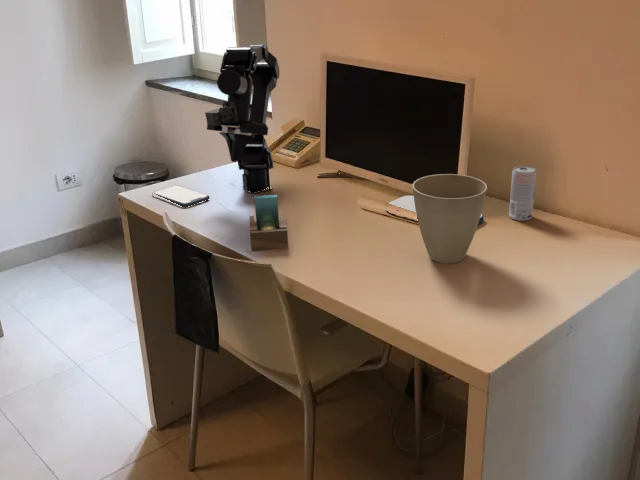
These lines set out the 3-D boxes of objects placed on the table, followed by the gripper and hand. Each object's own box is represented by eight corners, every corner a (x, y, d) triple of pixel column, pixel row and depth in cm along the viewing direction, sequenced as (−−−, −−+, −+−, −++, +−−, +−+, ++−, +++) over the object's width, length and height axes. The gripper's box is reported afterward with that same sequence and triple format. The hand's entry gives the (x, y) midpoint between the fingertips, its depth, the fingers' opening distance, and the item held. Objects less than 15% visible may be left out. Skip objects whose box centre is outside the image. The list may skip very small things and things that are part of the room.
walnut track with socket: (250, 223, 166) (249, 206, 164) (284, 221, 166) (283, 204, 165) (251, 251, 150) (249, 233, 149) (288, 248, 151) (287, 230, 149)
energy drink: (529, 213, 166) (534, 165, 161) (533, 221, 161) (538, 172, 156) (507, 213, 166) (510, 165, 161) (510, 221, 161) (514, 172, 157)
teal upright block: (257, 233, 160) (254, 196, 156) (279, 231, 160) (277, 194, 156) (258, 247, 152) (254, 208, 149) (281, 245, 153) (278, 206, 149)
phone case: (150, 198, 188) (184, 210, 177) (150, 192, 187) (183, 204, 176) (177, 189, 193) (212, 201, 183) (177, 184, 193) (211, 195, 182)
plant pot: (398, 249, 149) (399, 180, 142) (458, 238, 153) (461, 170, 147) (432, 277, 136) (435, 202, 129) (496, 264, 140) (502, 190, 134)
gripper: (191, 94, 171) (186, 156, 173) (234, 94, 157) (228, 162, 159) (228, 100, 178) (223, 159, 180) (272, 101, 165) (266, 165, 167)
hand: (233, 161), depth 171 cm, fingers closed
